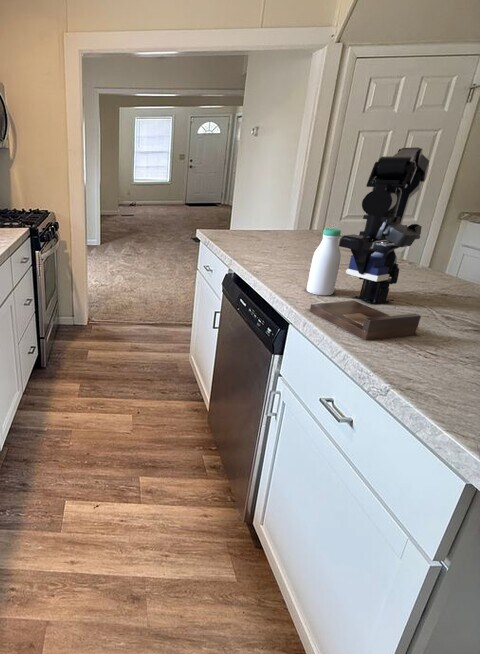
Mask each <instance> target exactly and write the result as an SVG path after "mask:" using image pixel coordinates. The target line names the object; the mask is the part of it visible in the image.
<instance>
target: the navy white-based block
mask: <svg viewBox="0 0 480 654" xmlns="http://www.w3.org/2000/svg"><path fill="white" fill-rule="evenodd" d="M384 263H385V259H383V258H379V257H374V256H370V259H369V261H368V264H367V267H366V270H365V272H364V274H359V272H358V269H357V266H356V263H355V260H354V257H353V254H352V255H350V260H349V263H348V268H346V271H345V274H346V275H350V276H354V277H357V278H359V277H361V278H364V279H368V280H372V281H376V282H378V281H383V280H388V278H390V277H389V274H388V270H389V267H386V266H384Z"/></svg>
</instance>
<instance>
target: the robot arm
mask: <svg viewBox="0 0 480 654" xmlns="http://www.w3.org/2000/svg"><path fill="white" fill-rule="evenodd" d="M429 166H430V160H429V159H428V158H427V157H426V156H425V155H424V154H423V147H417V146H415V147H402V148H399V149H398V150H397V152H396V153H394V155H393V156H387V155H386V156H380V157H379V159H378V160H377V161H375V162H374V164H373V167H372V169H371V171H370V175H369V177H368V180H367V183H366V187H365V188H372V191H369V192H368V193H367V194H366V195H364V197H363V199H362V201H361V207H362V210H363V212H364V213H365V214H364V215H363V217H362V219H363V220H366V221H365V226H364V228H363V230H360V231H359V234H354V233H353V234H344V235H342V236H341V237H339V241H338V245H339V248H346V249H349V250H350V253H351V254H352V255H353V257H354V260H355V263H356V266H357V269H358V272H359V274H364V272H365V270H366V267H367V264H368V261H369V259H370V256H374V257H379V258H383V259H385V263H384V266H386V267H389V270H388V274H389V278H388V280H383V281H378V282H376V281H372V280H368V279H364V278H361V277H358V279H359V280H362V284H361V289H360V293H359V294H356V295H354V297H355V298H356V299H359V300H361V301H364V302H366V303H368V304H371V305H372V304H383V303H390V299H388V295H389V292H390V285H393V284H394V285H396V284H398V283H397V282H398V279H399V274H400V267H399V263H398V257H397V254H396V250H397V249H399V248H404V247H411V246H412V245H413V243H414V242H415V241H416V240H420V238H421V234H422V229H423V228H422V226H423V225H420V224H419V223H412V224H410V225H408V224H403V222H404V218H405V215H406V212H407V209H408V205H409V203H410V199H411V198H412V197H413V196H414V195H415V194H416V193H417V192H418V191H419V190H420V189H421V187H422V183H424V182H426V180H427V177H428V174H429V168H430V167H429Z"/></svg>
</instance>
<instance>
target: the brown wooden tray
mask: <svg viewBox="0 0 480 654" xmlns="http://www.w3.org/2000/svg"><path fill="white" fill-rule="evenodd" d="M309 311H310V312H312V313H313V314H315V315H317V316H319V317H321V318H322V319H325V320H326V321H329V322H330V323H332V324H334V325H336V326H338V327H340V328H342V329H343V330H345V331H347V332H349V333H351V334H353V335H355V336H357V337H359V338H361V339H362V340H364V341H369V340H376V339H386V338H387V339H388V338H396V337H397V338H398V337H405V336H416V335H417V330H418V327H419V324H420V321H421V317H422V315H420V314H417V313H407V314H397V315H395V314H394V315H390V314H387V313H384V312H382V311H380V310H378V309H375V308H373V307H370V306H369V305H366V304H363V303H361V302H358V301H357V300H347V301H346V300H345V301H334V302H321V303H320V302H319V303H311V304H310V308H309Z"/></svg>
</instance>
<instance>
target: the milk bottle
mask: <svg viewBox="0 0 480 654" xmlns="http://www.w3.org/2000/svg"><path fill="white" fill-rule="evenodd" d="M341 232H342V230H341V229H338V228H324V229H323V232H322V240H321V242H320V244H319V245H318V247H317V248H316V249H315V251H314V253H313V255H312V260H311V264H310V269H309V273H308V279H307V280H308V281H307V284H306V291H307V292H308V293H310V294H313V295H316V296H331V295H333V293H334V292H335V287H336V283H337V280H338V278H337V277H338V273H339V268H340V264H341V257H342V255H341V250H340V246H339V239H340V238H341Z"/></svg>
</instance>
